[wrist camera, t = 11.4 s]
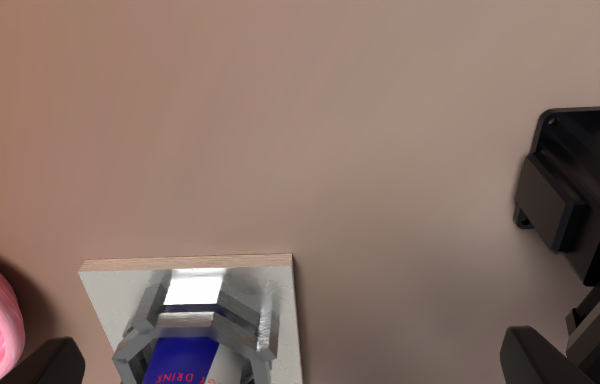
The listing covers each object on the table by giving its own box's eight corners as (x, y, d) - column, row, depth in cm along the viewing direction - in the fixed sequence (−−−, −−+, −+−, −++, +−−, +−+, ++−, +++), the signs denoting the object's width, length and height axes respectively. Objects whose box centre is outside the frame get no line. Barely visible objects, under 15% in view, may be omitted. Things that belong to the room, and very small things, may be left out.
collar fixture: (291, 253, 25) (289, 302, 22) (303, 380, 32) (302, 431, 29) (85, 259, 26) (55, 307, 23) (138, 383, 32) (121, 432, 29)
